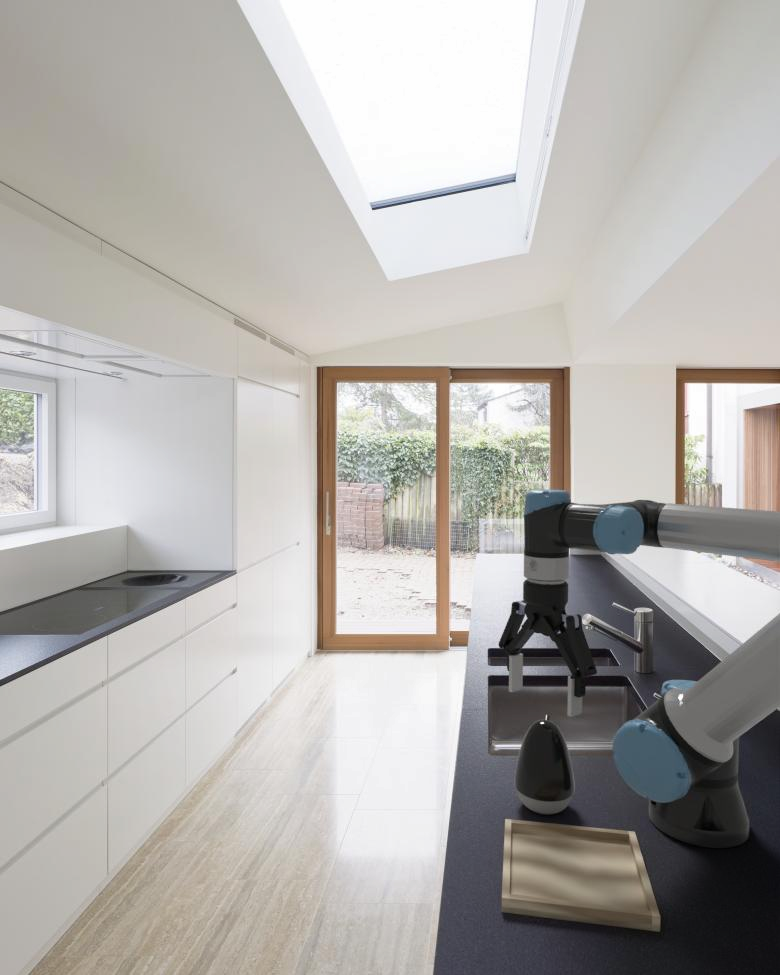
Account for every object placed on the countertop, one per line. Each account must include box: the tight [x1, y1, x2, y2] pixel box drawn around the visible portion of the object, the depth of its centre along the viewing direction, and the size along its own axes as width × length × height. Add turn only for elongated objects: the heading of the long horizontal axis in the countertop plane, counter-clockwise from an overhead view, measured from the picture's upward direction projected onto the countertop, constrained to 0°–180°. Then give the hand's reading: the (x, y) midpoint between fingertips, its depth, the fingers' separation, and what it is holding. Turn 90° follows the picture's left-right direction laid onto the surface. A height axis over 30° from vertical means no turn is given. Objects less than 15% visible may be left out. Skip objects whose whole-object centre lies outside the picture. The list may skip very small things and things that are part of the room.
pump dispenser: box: [513, 714, 576, 815], centre depth 117 cm, size 10×10×15 cm
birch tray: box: [501, 818, 661, 933], centre depth 98 cm, size 20×20×2 cm
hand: (543, 702), depth 117 cm, fingers open, 13 cm apart
